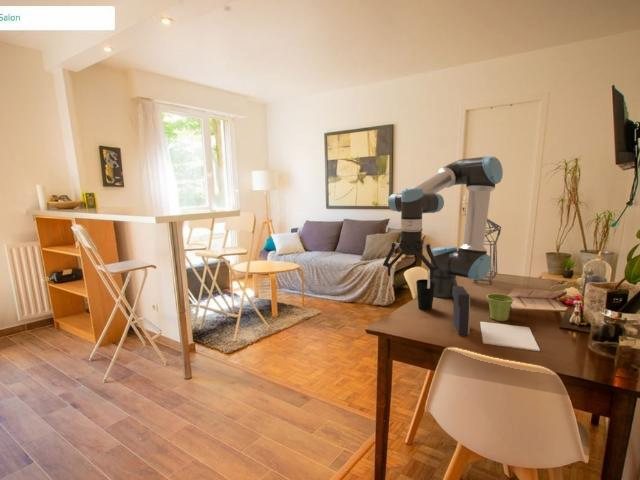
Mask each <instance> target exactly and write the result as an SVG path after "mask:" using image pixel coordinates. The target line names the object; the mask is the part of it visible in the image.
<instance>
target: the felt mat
mask: <svg viewBox="0 0 640 480" xmlns="http://www.w3.org/2000/svg"><path fill="white" fill-rule="evenodd" d="M479 324H480V325H479V326H480V330H481V339H482V344H485V345H491V346H492V345H493V346H499V347H505V348H506V347H507V348H513V349H520V350H527V351H535V352H541V349H540V347H539V345H538V343H537V341H536V340H535V339H536V338H535V337H534V335H533V333H532V331H531V329H530V327H528V326H520V325H513V324H511V325H510V324H505V323H504V324H503V323H495V322H489V321H488V322H487V321H479Z"/></svg>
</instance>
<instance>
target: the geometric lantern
mask: <svg viewBox="0 0 640 480" xmlns="http://www.w3.org/2000/svg"><path fill="white" fill-rule="evenodd" d="M487 225H488V227H486V232H485V238H486V240H485V242H488V243H484V246H486V245H487V246H490V247H489V256H490V257H491V258H492V266H491V267H490V270H489V272H488V273H489V275H486V276H485V277H484V278H483V279H481V280H480V282H479V281H476V280H475V279H473V283H475V284H483V285H484V284H485V285H492V281H493V279H495V278H496V277H497V275H498V251H497V243H498V239H499V236H500V235H501V231H502V226H501V225H499V224H497V223H495V222H494V221H492V220H490V219H489V218H488V217H487ZM487 229H488V230H487ZM496 232H497V235H496V238H495V240H494V238H493V236H492V235H491V234H493V233H496ZM488 235H490V237H491V239H492V240H490V239H489V238H488ZM492 246H493V247H492ZM492 251H493V252H492ZM493 273H494V274H493ZM492 274H493V275H492ZM485 278H488V279H485ZM481 281H488V283H487V282H481Z"/></svg>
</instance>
